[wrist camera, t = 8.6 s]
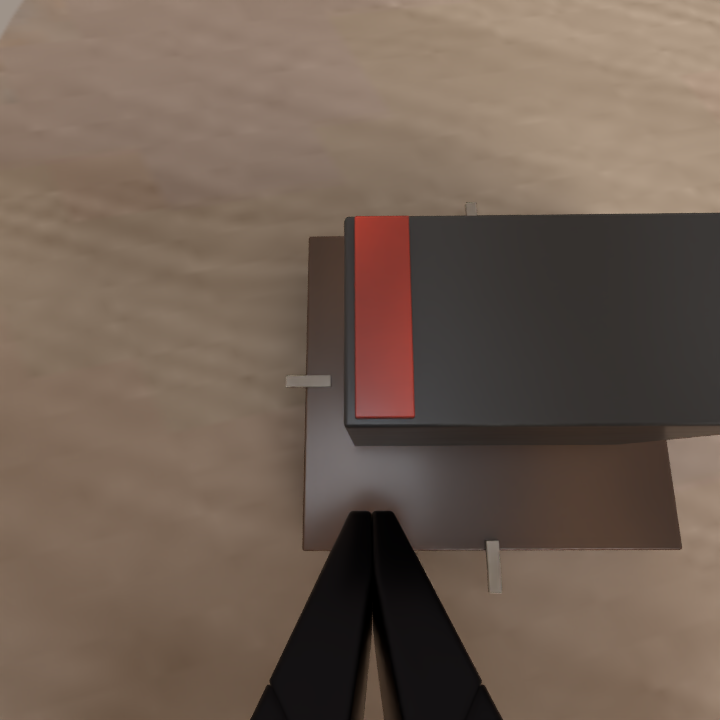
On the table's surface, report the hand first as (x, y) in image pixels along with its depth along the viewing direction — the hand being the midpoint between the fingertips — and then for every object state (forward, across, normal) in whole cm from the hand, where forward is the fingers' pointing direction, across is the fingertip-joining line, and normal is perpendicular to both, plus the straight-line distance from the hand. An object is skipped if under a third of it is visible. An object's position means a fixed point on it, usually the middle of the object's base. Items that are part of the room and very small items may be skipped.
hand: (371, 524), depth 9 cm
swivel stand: (+8, -4, +2) cm, 9 cm away
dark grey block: (+6, -3, +1) cm, 7 cm away
